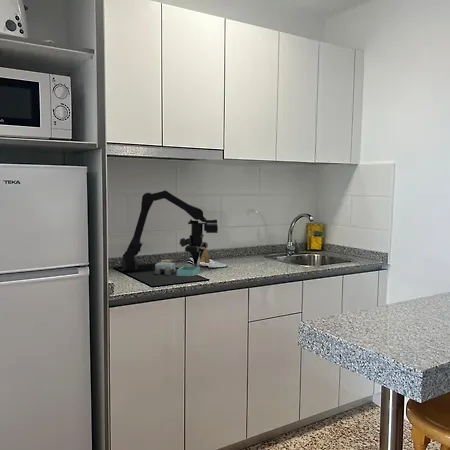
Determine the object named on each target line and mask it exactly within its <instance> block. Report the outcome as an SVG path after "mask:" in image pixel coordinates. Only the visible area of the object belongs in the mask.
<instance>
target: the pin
mask: <svg viewBox="0 0 450 450" xmlns="http://www.w3.org/2000/svg"><path fill="white" fill-rule="evenodd" d="M200 265H201V264H200V256H199V259H198V262H197V264H194V263H193V267H200V268H201V266H200Z"/></svg>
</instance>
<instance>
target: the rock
mask: <svg viewBox="0 0 450 450" xmlns="http://www.w3.org/2000/svg"><path fill="white" fill-rule="evenodd" d="M202 249H205V250H204V253H203V255H202V257H201V259H200V262H205V263H209V262H211V260H210V259H211V258H210V254H209V251H208V249H207V248H205V247H202Z"/></svg>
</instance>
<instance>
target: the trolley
mask: <svg viewBox="0 0 450 450" xmlns="http://www.w3.org/2000/svg"><path fill="white" fill-rule="evenodd" d="M176 265H177V264H176V262H175V263H169V262H161V261H160V262H157V263H155V265H154V267H155V268H154V274H155V275H157V276H158V275H159V276H160V275H161V274H162V273H164V276H171V275H172V274H174V273H177V266H176Z"/></svg>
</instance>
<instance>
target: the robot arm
mask: <svg viewBox="0 0 450 450" xmlns="http://www.w3.org/2000/svg"><path fill="white" fill-rule="evenodd" d="M164 199H165V200H167V201H168V202H169V203H172V204H173V205H175V206H176V207H178V208H180V209H181V210H183V211H184V212H186V214H187V215H189V216H190V217H192V218H190V219H189V220H188V222H187V224H188V225H191V228H190V231H191V232H190V235H189V238H188V237H187V238H185V237H183V238H180V239H179V245H180V246H181V248H183V247H184V252H188V253H190V254H191V258H192V260H193V261H194V262H193V261H192V262H193V265H194V264H197V262H198V259H199V256H200V259H201V257H202V255H203V253H204V250H205V249H202V247H205V248H206V249H207V248H208V247H209V246H208V245H209V244H208V242H207V241H203V239H204V237H205V234H204V232H205V233H206V234H218V233H219V232H218V229H219V226H218V219H207V218H206V217H205V216H204V211H203V210H202V209H201V208H199V207H198V206H194V205H193V204H192V205H191V204H189V203H187V201H184V200H183V199H180V198H179V197H177V196H176V195H174V194H172V193H171V192H169V191H168V190H166V189H165V190H162V191H158V192H153V193H152V192H145V193H144V194H143V195H142V197H141V204H140V205H141V206H140V207H141V209H140V212H139V217H138V220H137V222H136V226H135V229H134V232H133V235H132V236H133V237H132V238H131V240H130V242H129V245H128V246H127V249H126V251H124V252H123V255H122V260H121V261H122V264H121V265H122V269H120V272H131V273H132V272H135V271H138V270H139V268H138V259H137V257H136V256H137V255H138V254H139V253H141V251H142V246H143V244H144V242H143V241H141V239H142V236H143V232H144V228H145V225H146V222H147V221H146V220H147V218H148V215H149V211H150V209H151V207H152V205H153V204H154V202H155V201H159V200H164ZM199 221H200V222H199Z"/></svg>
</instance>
